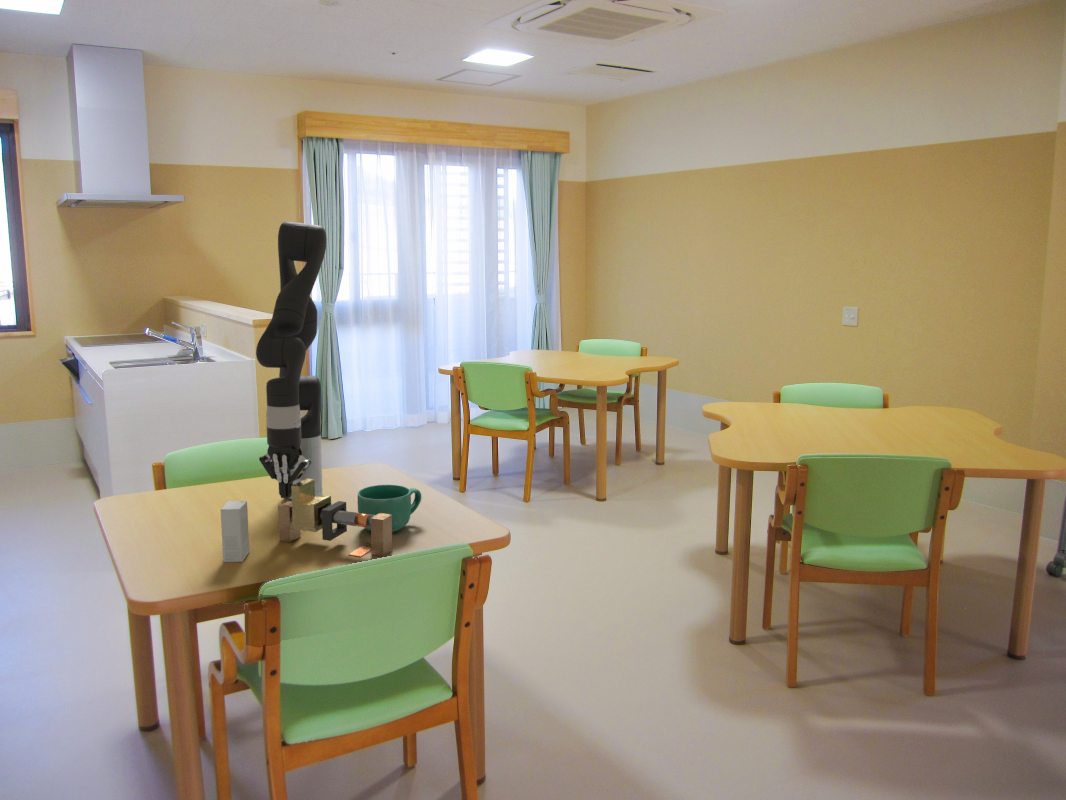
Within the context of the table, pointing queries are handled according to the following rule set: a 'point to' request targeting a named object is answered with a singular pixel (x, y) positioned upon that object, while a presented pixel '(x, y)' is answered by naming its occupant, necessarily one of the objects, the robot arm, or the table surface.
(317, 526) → the tan notched block
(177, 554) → the table surface
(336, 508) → the dark grey square plate
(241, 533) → the skincare box
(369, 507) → the mug
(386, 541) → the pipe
